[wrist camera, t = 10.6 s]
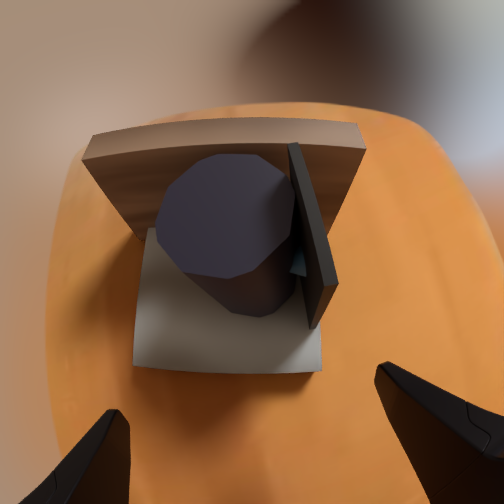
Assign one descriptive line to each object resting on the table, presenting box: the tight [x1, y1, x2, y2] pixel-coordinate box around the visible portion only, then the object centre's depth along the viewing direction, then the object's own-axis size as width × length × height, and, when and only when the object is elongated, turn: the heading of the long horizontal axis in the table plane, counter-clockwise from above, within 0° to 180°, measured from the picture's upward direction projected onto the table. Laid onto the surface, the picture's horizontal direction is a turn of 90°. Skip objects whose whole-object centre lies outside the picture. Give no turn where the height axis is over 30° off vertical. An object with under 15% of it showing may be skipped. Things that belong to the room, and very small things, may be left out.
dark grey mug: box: [155, 142, 339, 330], centre depth 14 cm, size 8×6×10 cm
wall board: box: [82, 117, 366, 374], centre depth 15 cm, size 12×15×10 cm
